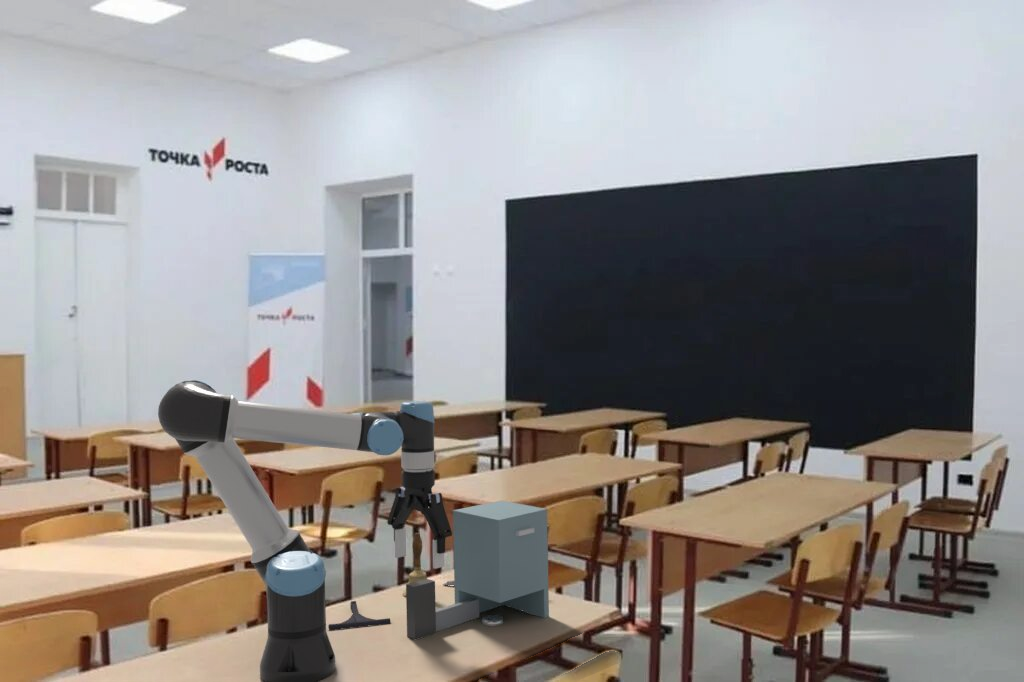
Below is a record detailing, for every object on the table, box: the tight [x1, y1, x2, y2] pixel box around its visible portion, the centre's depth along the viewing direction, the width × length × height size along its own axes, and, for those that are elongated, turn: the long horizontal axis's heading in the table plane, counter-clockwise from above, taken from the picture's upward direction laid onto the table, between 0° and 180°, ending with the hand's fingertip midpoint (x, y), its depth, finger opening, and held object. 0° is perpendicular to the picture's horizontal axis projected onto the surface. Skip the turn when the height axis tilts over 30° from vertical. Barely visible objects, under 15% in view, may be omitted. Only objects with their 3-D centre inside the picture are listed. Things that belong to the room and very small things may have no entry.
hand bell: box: [402, 532, 428, 597], centre depth 237 cm, size 8×8×16 cm
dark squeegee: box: [327, 600, 392, 631], centre depth 219 cm, size 14×15×3 cm
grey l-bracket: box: [405, 578, 480, 640], centre depth 211 cm, size 20×3×12 cm, turn 134°
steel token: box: [481, 614, 504, 627], centre depth 214 cm, size 5×5×1 cm
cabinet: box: [452, 500, 550, 619], centre depth 217 cm, size 16×17×26 cm
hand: (419, 562), depth 206 cm, fingers open, 13 cm apart
